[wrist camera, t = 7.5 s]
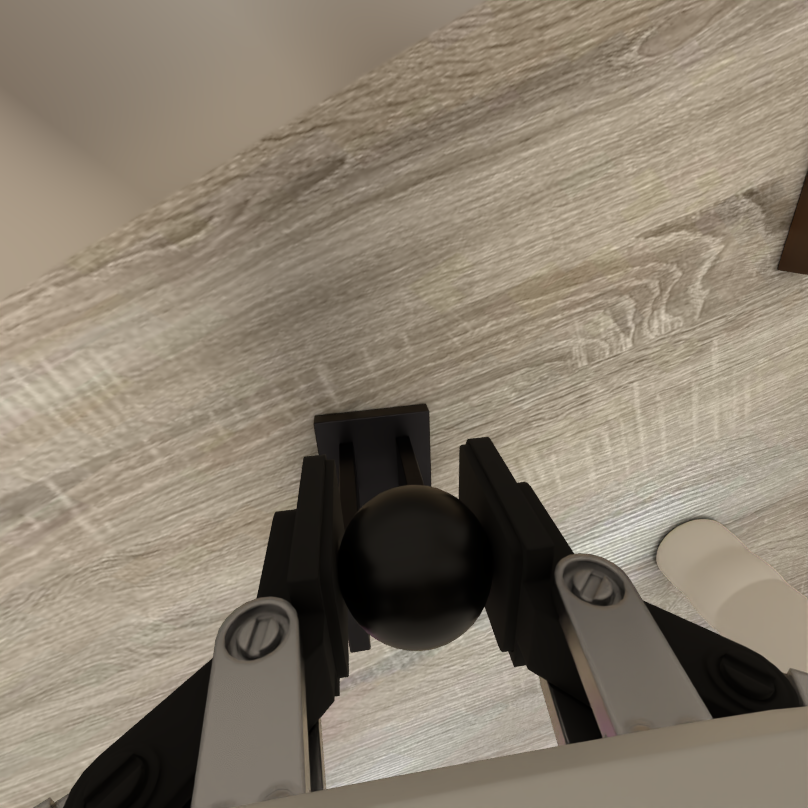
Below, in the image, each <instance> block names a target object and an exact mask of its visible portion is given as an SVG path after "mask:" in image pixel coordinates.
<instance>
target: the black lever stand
mask: <svg viewBox="0 0 808 808" xmlns="http://www.w3.org/2000/svg"><path fill="white" fill-rule="evenodd" d="M314 429H315V435H316V441H317V447H318V454H319V455H326V457H327V460H331V459H334V460H335V465H336V472H337V479H338V487H339V494H340V501H341V509H342V516H343V523H344V530H345V531H346V529H347V527H348V525H349V523H350V521H351V520H352V519H353V517H354V516H355V514H356V513H357V512H358V511H359V510H360V509H361V508H362V506H363V505H365V504H366V503H367V502H368V501H369V500H371V499H372V498H374V497H375V496H377V495H378V494H380V493H382V492H384V491H387V490H389V489H392V488H395V487H399V486H405V485H424V486H430V487H431V457H430V424H429V410H428V408H427V405H426V404H421V405H412V406H403V407H393V408H384V409H375V410H366V411H356V412H347V413H338V414H329V415H319V416H315V417H314ZM348 641H349V647H350V652H351V653H353V652H359V651H365V650H370V648H371V645H370V634H368V633H367V632H366V631H365V630H364V629H363V628H362V627H361V626H360V625H359V624H358V623H357V621H356V620H355V619H354V617H353V616H352V615H351V613H350V611H349V609H348Z"/></svg>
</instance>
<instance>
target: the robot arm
mask: <svg viewBox="0 0 808 808" xmlns="http://www.w3.org/2000/svg"><path fill="white" fill-rule="evenodd" d="M459 500H460V501H461V502H463V503H464V504H465V505H466V506H467V507H468V508H469V509H470V510H471V511H472V512H473V513H474V515H475V516H476V517H477V519H478V520H479V521H480V523H481V525H482V527H483V529H484V530H485V533H486V535H487V538H488V540H489V544H490V547H491V551H492V558H493V579H492V586H491V590H490V594H489V597H488V599H487V602H486V605H485V609H486V612H487V615H488V617H489V620H490V623H491V626H492V629H493V632H494V635H495V638H496V640H497V643H498V646H499V648H500V650H501V652H507V651H508V652H509V654H510V657H511V660H512V663H513V665H514V667H517V666H524V665H526V666H527V668H528V669H529V670H530V671H532V672H533V673H535V674H537V675H538V676H539V678H540V685H541V688H542V691H543V695H544V698H545V702H546V705H547V709H548V712H549V716H550V719H551V723H552V726H553V730H554V733H555V737H556V740H557V744H558V746H557V747H551V748H546V749H540V750H535V751H530V752H524V753H519V754H513V755H508V756H502V757H497V758H491V759H486V760H480V761H475V762H470V763H464V764H459V765H453V766H448V767H443V768H437V769H432V770H426V771H421V772H416V773H410V774H405V775H399V776H394V777H389V778H383V779H378V780H373V781H368V782H362V783H357V784H352V785H347V786H341V787H336V788H331V789H326V778H325V765H324V752H323V739H322V726H321V716H322V715H323V714H324V713H325V712H326V710H327V709H328V708H329V707H330V706H331V704H332V703H333V702H334V697H335V696H340V678H344V677H348V676H349V653H348V608H347V606H346V603H345V601H344V598H343V596H342V593H341V589H340V584H339V574H338V555H339V549H340V545H341V541H342V538H343V536H344V533H345V530H344V523H343V516H342V509H341V501H340V494H339V487H338V479H337V472H336V465H335V460H334V459H331V460H327V457H326V455H316V456H307V457H304V459H303V466H302V473H301V480H300V487H299V495H298V502H297V509H294V510H286V511H278V512H276V513H275V514H274V517H273V521H272V526H271V531H270V536H269V541H268V546H267V551H266V555H265V560H264V565H263V570H262V575H261V580H260V585H259V589H258V594H257V599H254V600H251V601H249V602H246V603H245V604H243V605H242V606H240V607H238V608H237V609H235V610H234V611H233V612H232V613H231V614H230V615H229V616H228V617H227V618H226V619H225V621H224V622H223V624H222V625H221V627H220V628H219V631H218V634H217V637H216V640H215V647H214V653H213V658H212V659H211V660H210V661H209V662H208V663H206V664H205V665H204V666H203V667H202V668H201V669H199V670H198V671H197V672H196V673H195V674H194V675H192V676H191V677H190V678H189V679H188V680H187V681H185V682H184V683H183V684H182V685H181V686H180V687H178V688H177V689H176V690H175V691H174V692H173V693H172V694H170V695H169V696H168V697H167V698H166V699H165V700H163V701H162V702H161V703H160V704H159V705H158V706H156V707H155V708H154V709H153V710H152V711H151V712H149V713H148V714H147V715H146V716H145V717H144V718H142V719H141V720H140V721H139V722H138V723H137V724H135V725H134V726H133V727H132V728H131V729H130V730H128V731H127V732H126V733H125V734H124V735H123V736H122V737H120V738H119V739H118V740H117V741H116V742H115V743H113V744H112V745H111V746H110V747H109V748H108V749H106V750H105V751H104V752H103V753H102V754H101V755H99V756H98V757H97V758H96V759H95V760H94V762H93V763H92V764H91V765H90V766H89V767H88V768H87V769H86V770H85V771H84V772H83V773H82V775H81V776H80V778H79V779H78V780H77V782H76V783H75V785H74V786H73V788H72V789H71V791H70V793H69V794H67V795H66V796H64V797H63V798H61V799H60V800H58V801H56V802H55V803H54V801H53V800H52V799H51V798H48V799H46V800H45V801H43V802H42V803H40V804H39V805H37V806H35V807H34V808H808V673H807V672H803V671H799V670H796V669H792V668H790V669H789V670H788V672H787V674H786V673H782V672H781V671H780V670H779V669H778V668H777V667H776V666H775V665H774V664H772V663H771V662H770V661H769V660H767V659H766V658H765V657H763V656H762V655H760V654H759V653H757V652H755V651H753V650H751V649H749V648H748V647H746V646H743V645H741V644H739V643H737V642H734V641H732V640H730V639H728V638H726V637H723V636H721V635H719V634H717V633H714V632H712V631H710V630H708V629H705V628H703V627H701V626H699V625H697V624H694V623H692V622H690V621H688V620H685V619H683V618H681V617H679V616H676V615H674V614H672V613H670V612H668V611H665V610H663V609H661V608H659V607H656V606H654V605H652V604H650V603H647V602H645V601H643V600H642V598H641V597H640V595H639V593H638V592H637V590H636V588H635V587H634V585H633V583H632V582H631V580H630V579H629V577H628V576H627V575H626V574H625V572H624V571H623V570H622V569H620V568H619V567H618V566H617V565H615V564H614V563H612V562H610V561H608V560H606V559H604V558H602V557H599V556H595V555H592V554H581V553H578V554H574V553H573V551H572V550H571V548H570V546H569V545H568V543H567V542H566V540H565V539H564V537H563V536H562V534H561V533H560V531H559V529H558V528H557V526H556V525H555V523H554V522H553V520H552V519H551V517H550V516H549V514H548V512H547V511H546V509H545V508H544V506H543V505H542V503H541V502H540V500H539V499H538V497H537V495H536V494H535V492H534V491H533V489H532V488H531V486H530V485H529V484H528V483H526V482H520V483H517V482H516V480H515V479H514V477H513V476H512V474H511V472H510V471H509V469H508V467H507V466H506V464H505V462H504V461H503V459H502V457H501V456H500V454H499V453H498V451H497V449H496V448H495V446H494V444H493V443H492V441H491V439H490V438H489V437H482V438H473V439H468V440H467V442H466V445H461V446H460V451H459Z"/></svg>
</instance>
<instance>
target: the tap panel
mask: <svg viewBox="0 0 808 808" xmlns="http://www.w3.org/2000/svg"><path fill="white" fill-rule="evenodd" d="M778 270H781V271H787V272H793V273H800V274H806V275H808V173H807V176H806V179H805V183H804V186H803V189H802V192H801V195H800V199H799V202H798V205H797V208H796V211H795V215H794V218H793V221H792V224H791V228H790V231H789V234H788V237H787V240H786V244H785V247H784V250H783V253H782V256H781V260H780V263H779V266H778Z"/></svg>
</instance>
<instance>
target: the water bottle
mask: <svg viewBox="0 0 808 808" xmlns="http://www.w3.org/2000/svg"><path fill="white" fill-rule="evenodd" d="M656 560H657V565H658V567H659V569H660V570H661V572H662V573H663V574H664V575H665V576H666V578H667V579H668V580H669V581H670V582H671V583H672V584H673V585H674V586H675V587H676V588H677V589H678V590H679V591H680V592H681V593H683V594H684V595H685V596H686V597H687V599H688V600H689V602H690V603H691V605H692V606H693V608H694V609H695V610H696V611H697V612H698V614H699V615H700V616H701V617H702V618H703V619H704V620H705V621H706V622H707V623H708V624H709V625H710V626H711V627H713V628H714V629H715V630H716V631H718V632H719V634H720V635H721V636H723V637H726V638H728V639H730V640H732V641H734V642H737V643H739V644H741V645H743V646H746V647H748V648H749V649H751V650H753V651H755V652H757V653H759V654H760V655H762V656H763V657H765V658H766V659H767V660H769V661H770V662H771V663H772V664H774V665H775V666H776V667H777V668H778V669H779V670H780V671H781V672H782V673H786V674H787V672H788V670H789V669H790V668H792V669H796V670H799V671H803V672H807V673H808V598H807V597H805V596H804V595H803V594H801V593H800V592H799V591H797V590H796V589H795V588H793V587H792V586H790V585H789V584H787V582H786V581H785V580H784V578H783V577H782V576H781V575H780V574H779V573H778V572H777V571H776V570H775V569H774V568H773V567H772V566H771V565H769V564H768V563H767V562H766V561H764V560H763V559H762V558H760V557H759V556H757V555H756V554H754V553H753V552H751V551H750V550H749V549H748V548H747V547H746V546H745V545H744V544H743V543H742V542H741V541H740V540H739V539H738V538H737V537H736V536H735V535H734V534H733V533H732V532H730V531H729V530H728V529H727V528H726V527H724V526H723V525H722V524H720V523H719V522H716V521H714V520H709V519H698V520H693V521H689V522H686V523H684V524H682V525H680V526H678V527H676V528H675V529H673V530H672V531H671V532H670V533H669V534H668V535H667V536H666V537H665V538H664V539H663V540H662V542H661V544H660V546H659V548H658V551H657V557H656Z"/></svg>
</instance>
